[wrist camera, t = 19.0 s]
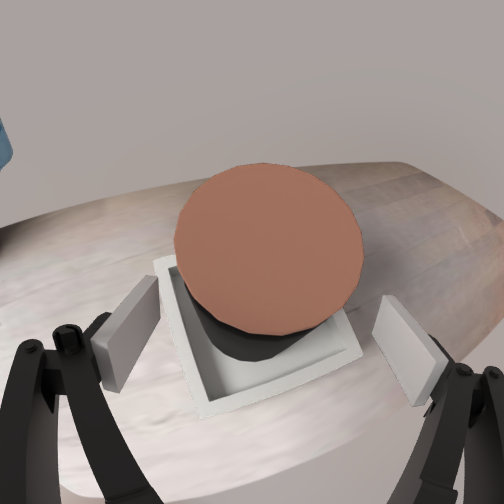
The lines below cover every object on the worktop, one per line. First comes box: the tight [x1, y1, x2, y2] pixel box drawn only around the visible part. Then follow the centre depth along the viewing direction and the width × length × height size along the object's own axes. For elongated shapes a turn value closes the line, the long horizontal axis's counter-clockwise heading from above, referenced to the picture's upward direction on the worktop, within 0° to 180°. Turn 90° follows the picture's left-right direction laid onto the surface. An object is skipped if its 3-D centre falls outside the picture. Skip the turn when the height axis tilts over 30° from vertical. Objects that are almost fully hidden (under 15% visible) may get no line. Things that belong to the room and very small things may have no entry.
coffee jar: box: [174, 163, 364, 362], centre depth 23 cm, size 11×11×18 cm
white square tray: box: [153, 254, 364, 420], centre depth 32 cm, size 18×18×6 cm
